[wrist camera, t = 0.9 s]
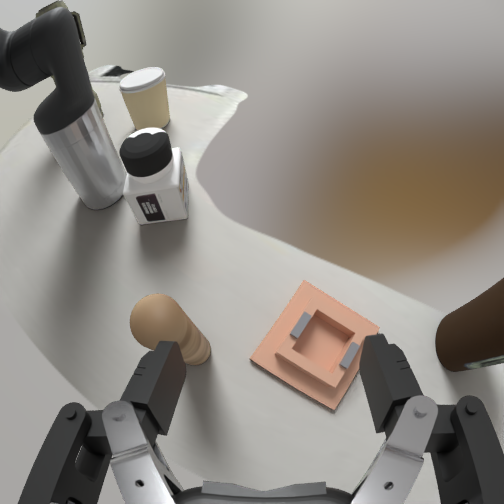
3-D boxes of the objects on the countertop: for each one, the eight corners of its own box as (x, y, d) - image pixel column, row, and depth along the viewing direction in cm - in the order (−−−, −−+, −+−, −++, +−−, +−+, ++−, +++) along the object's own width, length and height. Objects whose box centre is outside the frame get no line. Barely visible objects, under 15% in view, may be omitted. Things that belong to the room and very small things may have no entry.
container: (188, 219, 39) (169, 154, 28) (139, 225, 39) (107, 166, 27) (188, 181, 43) (174, 116, 31) (144, 187, 42) (120, 127, 31)
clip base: (249, 358, 31) (250, 356, 27) (302, 282, 35) (308, 270, 32) (332, 409, 28) (342, 411, 24) (377, 328, 32) (389, 322, 29)
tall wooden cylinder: (171, 351, 31) (119, 324, 17) (191, 326, 32) (153, 283, 19) (197, 371, 30) (159, 361, 16) (217, 346, 31) (195, 316, 18)
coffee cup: (180, 111, 53) (172, 65, 42) (161, 137, 49) (149, 87, 38) (145, 110, 54) (134, 68, 43) (124, 135, 49) (108, 89, 39)
